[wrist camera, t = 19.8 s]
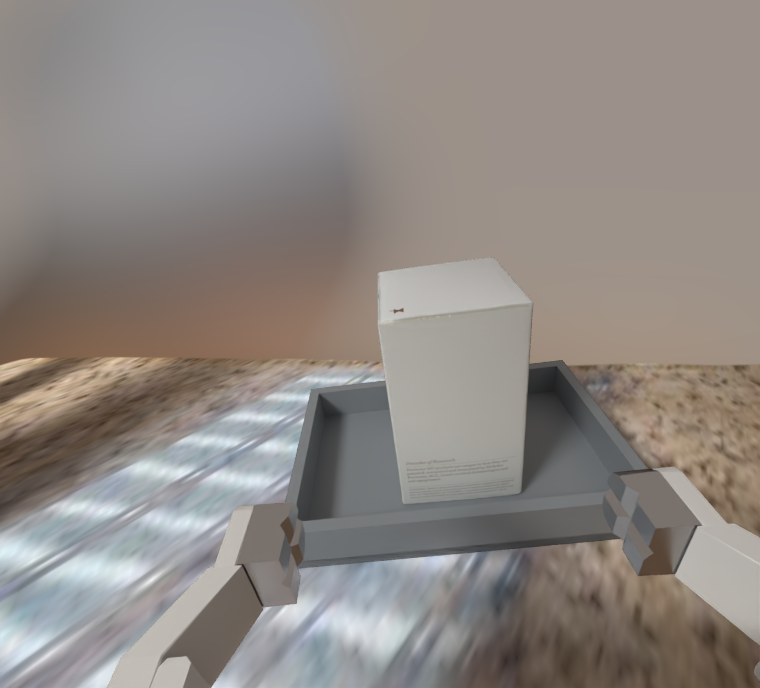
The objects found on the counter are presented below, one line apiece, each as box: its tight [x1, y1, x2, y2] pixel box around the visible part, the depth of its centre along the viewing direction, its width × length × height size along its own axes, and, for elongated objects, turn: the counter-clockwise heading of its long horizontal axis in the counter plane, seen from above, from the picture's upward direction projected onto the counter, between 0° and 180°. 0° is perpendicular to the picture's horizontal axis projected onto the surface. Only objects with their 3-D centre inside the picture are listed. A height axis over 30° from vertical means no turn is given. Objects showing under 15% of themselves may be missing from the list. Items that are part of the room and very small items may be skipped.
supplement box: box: [377, 257, 533, 504], centre depth 24 cm, size 7×7×13 cm
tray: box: [285, 360, 648, 568], centre depth 27 cm, size 20×13×3 cm, turn 91°
